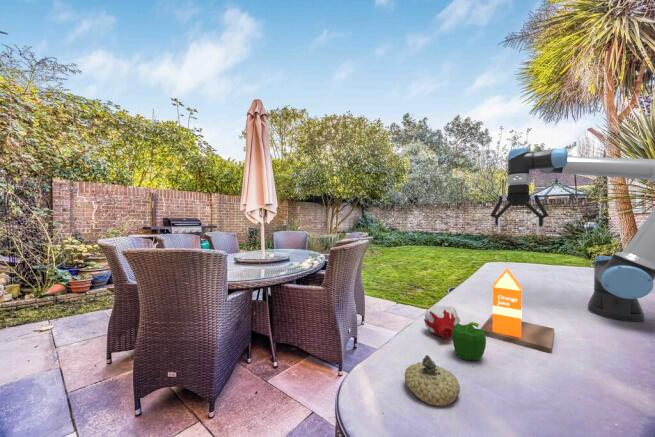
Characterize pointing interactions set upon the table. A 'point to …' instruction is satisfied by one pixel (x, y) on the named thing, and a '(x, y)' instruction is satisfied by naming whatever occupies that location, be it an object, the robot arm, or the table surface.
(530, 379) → the table surface
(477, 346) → the bell pepper
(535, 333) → the board
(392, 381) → the table surface
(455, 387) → the acorn cap
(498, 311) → the orange juice
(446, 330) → the white red rounded lump
